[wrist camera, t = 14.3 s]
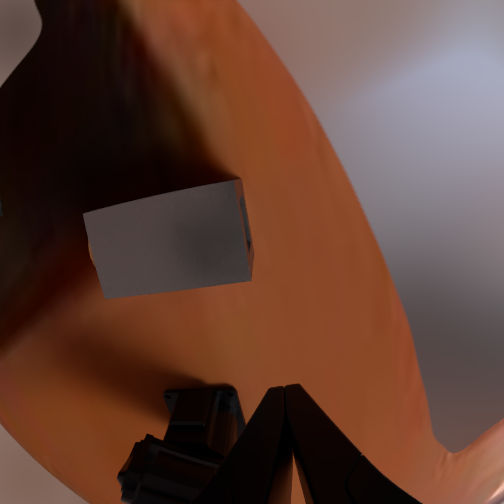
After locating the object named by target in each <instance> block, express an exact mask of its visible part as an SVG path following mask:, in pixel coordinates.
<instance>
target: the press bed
mask: <svg viewBox="0 0 504 504" xmlns="http://www.w3.org/2000/svg"><path fill="white" fill-rule="evenodd" d="M2 216H3V211H2V205H1V199H0V217H2Z"/></svg>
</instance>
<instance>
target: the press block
mask: <svg viewBox="0 0 504 504" xmlns="http://www.w3.org/2000/svg"><path fill="white" fill-rule="evenodd" d="M83 217H84V222H85V226H86V231H87V235H88V239H89V243H90V247H91V251H92V255H93V259H94V263H95V266H96V270H97V273H98V277H99V280H100V284H101V287H102V290H103V293H104V297H105V299H109V298H118V297H127V296H136V295H145V294H153V293H162V292H170V291H178V290H186V289H194V288H201V287H209V286H216V285H224V284H231V283H238V282H245V281H251V279H252V269H253V260H254V250H253V244H252V238H251V232H250V226H249V220H248V214H247V209H246V203H245V197H244V191H243V185H242V179H236V180H230V181H225V182H219V183H214V184H209V185H203V186H198V187H193V188H188V189H183V190H178V191H174V192H169V193H164V194H160V195H155V196H151V197H147V198H142V199H138V200H134V201H130V202H125V203H121V204H117V205H114V206H110V207H106V208H102V209H98V210H95V211H91V212H87V213H84V214H83Z"/></svg>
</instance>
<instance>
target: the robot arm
mask: <svg viewBox="0 0 504 504" xmlns="http://www.w3.org/2000/svg"><path fill="white" fill-rule="evenodd" d="M229 392H232V394H230V393H229ZM168 395H170V396H168ZM163 398H164V400H165V402H166V405H167V407H168V409H169V411H170V414H171V417H170V420H169V425H168V428H167V431H166V434H165V436H164V439H163V440H160V439H157V438H155V437H154V436H153V435H150V434H146V437H145V439H144V440H141V441H140V442H135V445H134V447H133V449H132V452H131V454H130V456H129V458H128V460H127V461H126V463H125V464H124V466H123V467H122V468H121V470H120V471H119V473H118V476H117V480H118V482H119V483H120V485H121V487H122V488H121V492H122V497H121V502H124V503H126V504H291V491H292V474H293V454H294V459H295V464H296V467H297V471H298V475H299V479H300V483H301V487H302V490H303V494H304V498H305V502H306V504H422V503H421V502H419V501H418V500H417V499H415V498H414V497H412V496H411V495H409V494H408V493H406V492H405V491H404V490H402V489H401V488H399V487H398V486H397V485H396V484H394V483H393V482H392V481H391V480H389V479H388V478H387V477H386V476H384V475H383V474H382V473H381V472H380V471H379V470H378V469H377V468H376V467H375V466H374V465H373V464H372V463H371V462H370V461H369V460H368V459H367V458H366V457H365V456H364V455H362V453H361V452H360V451H359V450H358V449H357V447H356V446H355V445H354V444H353V443H352V442H351V441H350V440H349V439H348V438H347V437H346V436H345V434H344V433H343V432H342V431H341V430H340V429H339V428H338V427H337V426H336V425H335V423H334V422H333V421H332V420H331V419H330V418H329V417H328V416H327V414H326V413H325V412H324V411H323V410H322V409H321V408H320V407H319V405H318V404H317V403H316V402H315V401H314V400H313V399H312V397H311V396H310V395H309V394H308V393H307V392H306V391H305V389H304V388H303V387H302V386H301V385H300V384H291V385H286V386H285V388H284V387H283V386H277V387H271V388H269V389H268V391H267V392H266V394H265V396H264V397H263V399H262V401H261V402H260V404H259V405H258V407H257V409H256V410H255V412H254V414H253V415H252V417H251V418H250V420H249V422H248V423H247V425H246V423H245V419H244V415H243V412H242V408H241V404H240V401H239V397H238V393H237V390H236V389H235V388H233V387H224V388H208V389H183V390H165V391H164V393H163Z"/></svg>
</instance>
